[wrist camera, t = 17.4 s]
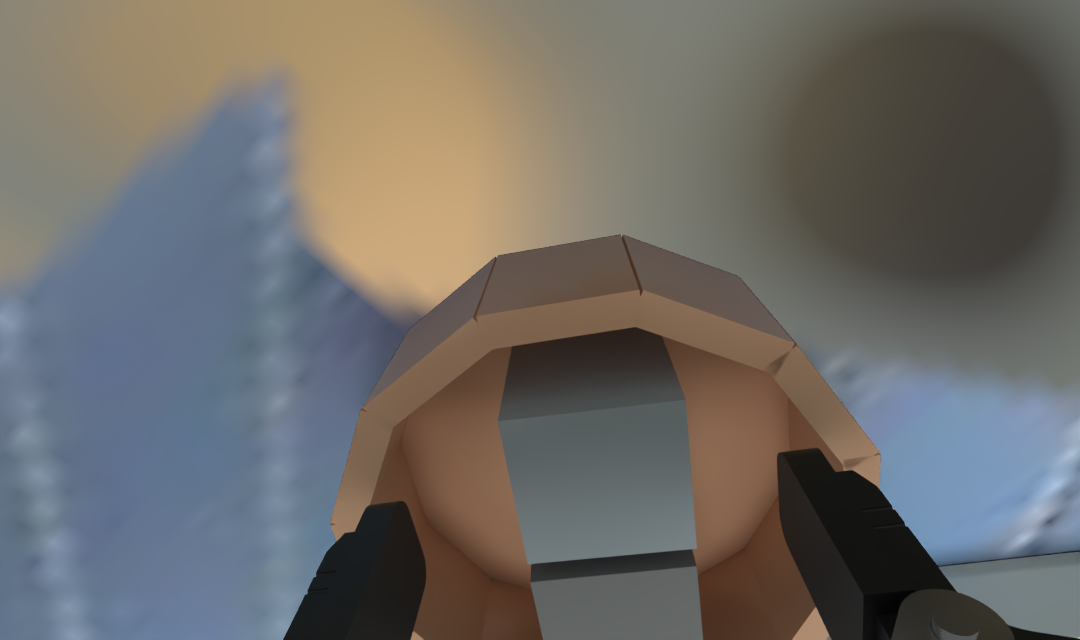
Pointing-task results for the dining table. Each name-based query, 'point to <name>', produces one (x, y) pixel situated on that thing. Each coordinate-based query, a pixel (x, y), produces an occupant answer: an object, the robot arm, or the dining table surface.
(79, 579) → the dining table surface
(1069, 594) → the parts tray
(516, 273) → the bowl
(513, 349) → the grey cube
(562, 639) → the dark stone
